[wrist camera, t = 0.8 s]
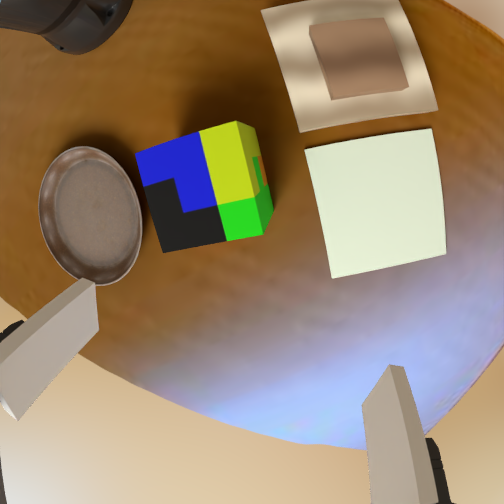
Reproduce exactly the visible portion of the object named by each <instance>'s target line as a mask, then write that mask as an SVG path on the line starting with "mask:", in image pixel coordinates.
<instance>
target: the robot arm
mask: <svg viewBox="0 0 504 504" xmlns="http://www.w3.org/2000/svg"><path fill="white" fill-rule="evenodd" d="M131 3H132V0H0V28H6V29H12V30H18V31H24V32H29V33H34V34H38V35H41V36H42V37H43V38H45V39H46V40H47V41H48V42H49V43H51V44H52V45H53V46H54V47H55V48H57V49H58V50H59V51H61V52H65V53H69V54H73V55H79V54H84V53H87V52H89V51H91V50H93V49H95V48H96V47H98V46H99V45H101V44H102V43H103V42H105V41H106V40H107V39H108V38H109V37H110V36H111V35H112V34H113V33H114V32H115V31H116V30H117V28H118V27H119V26H120V24H121V23H122V22H123V20H124V18H125V17H126V15H127V13H128V11H129V9H130V6H131ZM98 331H99V326H98V316H97V305H96V291H95V282H92V281H90V280H87V279H85V278H81V279H80V280H78V281H77V282H76V283H74V284H73V285H72V286H70V287H69V288H68V289H66V290H65V291H64V292H62V293H61V294H60V295H58V296H57V297H56V298H54V299H53V300H52V301H51V302H49V303H48V304H47V305H45V306H44V307H43V308H42V309H40V310H39V311H38V312H37V313H35V314H34V315H33V316H32V317H30V318H29V319H28V320H27V321H25V322H24V321H23V320H20V321H18V322H16V323H13V324H11V325H10V326H8V327H7V328H6V329H5V330H4V331H3V333H2V332H1V333H0V403H1V404H2V406H3V407H4V409H5V411H6V412H7V413H9V414H10V415H11V416H12V417H13V418H15V419H16V420H17V421H19V419H20V418H21V417H22V415H23V414H24V413H25V412H26V411H27V410H28V408H29V407H30V406H31V405H32V404H33V403H34V401H35V400H36V399H37V398H38V397H39V396H40V394H41V393H42V392H43V391H44V390H45V389H46V387H47V386H48V385H49V384H50V383H51V382H52V381H53V379H54V378H55V377H56V376H57V375H58V374H59V373H60V372H61V371H62V369H63V368H64V367H65V366H66V365H67V364H68V362H70V361H71V360H72V358H73V357H74V356H75V355H76V354H77V353H78V352H79V351H80V350H81V349H82V348H83V347H84V345H85V344H86V343H87V342H88V341H89V340H90V339H91V338H92V337H93V336H94V335H95V334H96V333H97V332H98ZM362 412H363V419H364V427H365V436H366V445H367V455H368V466H369V479H370V495H371V504H454V503H452V502H451V500H450V496H449V491H448V486H447V481H446V477H445V472H444V470H443V464H442V461H441V456H440V452H439V448H438V446H437V445H436V443H435V442H434V440H433V439H432V438H425V436H424V433H423V429H422V425H421V422H420V418H419V415H418V411H417V408H416V404H415V401H414V398H413V394H412V391H411V388H410V385H409V382H408V379H407V376H406V373H405V370H404V367H402V366H395V365H388V367H387V368H386V370H385V372H384V373H383V375H382V376H381V378H380V379H379V381H378V382H377V384H376V385H375V387H374V388H373V390H372V391H371V392H370V394H369V395H368V397H367V398H366V400H365V401H364V402H363V404H362ZM0 504H7V502H6V497H5V491H4V484H3V477H2V469H1V460H0Z"/></svg>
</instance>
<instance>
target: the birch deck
mask: <svg viewBox="0 0 504 504" xmlns="http://www.w3.org/2000/svg"><path fill="white" fill-rule="evenodd" d="M261 13H262V16H263V19H264V21H265V24H266V27H267V30H268V33H269V35H270V38H271V41H272V44H273V47H274V50H275V53H276V56H277V59H278V62H279V65H280V68H281V71H282V74H283V77H284V80H285V84H286V87H287V90H288V93H289V97H290V100H291V103H292V107H293V110H294V114H295V117H296V121H297V124H298V128H299V132H300V133H302V132H307V131H311V130H316V129H321V128H326V127H331V126H336V125H342V124H347V123H353V122H359V121H365V120H372V119H378V118H386V117H393V116H401V115H410V114H419V113H428V112H432V111H437V110H438V107H437V103H436V99H435V96H434V92H433V88H432V85H431V82H430V78H429V75H428V72H427V69H426V66H425V63H424V60H423V57H422V55H421V52H420V49H419V46H418V44H417V41H416V39H415V36H414V34H413V31H412V29H411V27H410V24H409V22H408V20H407V17H406V15H405V13H404V11H403V9H402V7H401V5H400V3H399V0H308V1H302V2H297V3H291V4H286V5H281V6H277V7H272V8H268V9H264V10H261ZM383 17H384V19H385V21H386V24H387V26H388V28H389V31H390V33H391V36H392V38H393V41H394V43H395V46H396V48H397V51H398V54H399V57H400V60H401V62H402V65H403V68H404V71H405V74H406V78H407V81H408V84H409V87H408V88H406V89H404V90H402V91H395V92H386V93H377V94H370V95H363V96H356V97H349V98H343V99H338V100H332V101H331V99H330V95H329V92H328V89H327V86H326V82H325V79H324V76H323V73H322V70H321V67H320V64H319V61H318V58H317V55H316V52H315V50H314V47H313V44H312V41H311V39H310V36H309V25H315V24H321V23H328V22H335V21H344V20H353V19H365V18H383Z"/></svg>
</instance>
